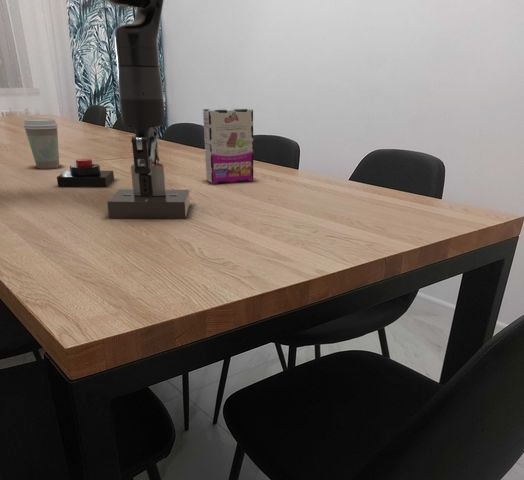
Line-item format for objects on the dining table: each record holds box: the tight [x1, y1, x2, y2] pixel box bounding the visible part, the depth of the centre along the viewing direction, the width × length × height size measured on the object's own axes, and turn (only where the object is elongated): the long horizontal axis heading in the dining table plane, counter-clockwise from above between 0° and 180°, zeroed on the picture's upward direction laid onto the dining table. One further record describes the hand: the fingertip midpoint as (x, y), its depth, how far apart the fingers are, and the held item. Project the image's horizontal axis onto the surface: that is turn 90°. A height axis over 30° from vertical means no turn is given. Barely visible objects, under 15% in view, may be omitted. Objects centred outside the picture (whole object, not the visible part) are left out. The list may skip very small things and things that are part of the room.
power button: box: [75, 157, 94, 167], centre depth 118 cm, size 4×4×2 cm
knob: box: [130, 162, 167, 196], centre depth 95 cm, size 6×2×6 cm, turn 93°
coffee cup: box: [23, 117, 60, 170], centre depth 135 cm, size 8×8×12 cm
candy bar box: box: [202, 107, 254, 185], centre depth 121 cm, size 11×5×16 cm, turn 114°
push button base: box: [56, 163, 115, 188], centre depth 119 cm, size 11×9×4 cm
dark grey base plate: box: [106, 188, 191, 219], centre depth 97 cm, size 14×11×3 cm
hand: (150, 192), depth 96 cm, fingers open, 7 cm apart
